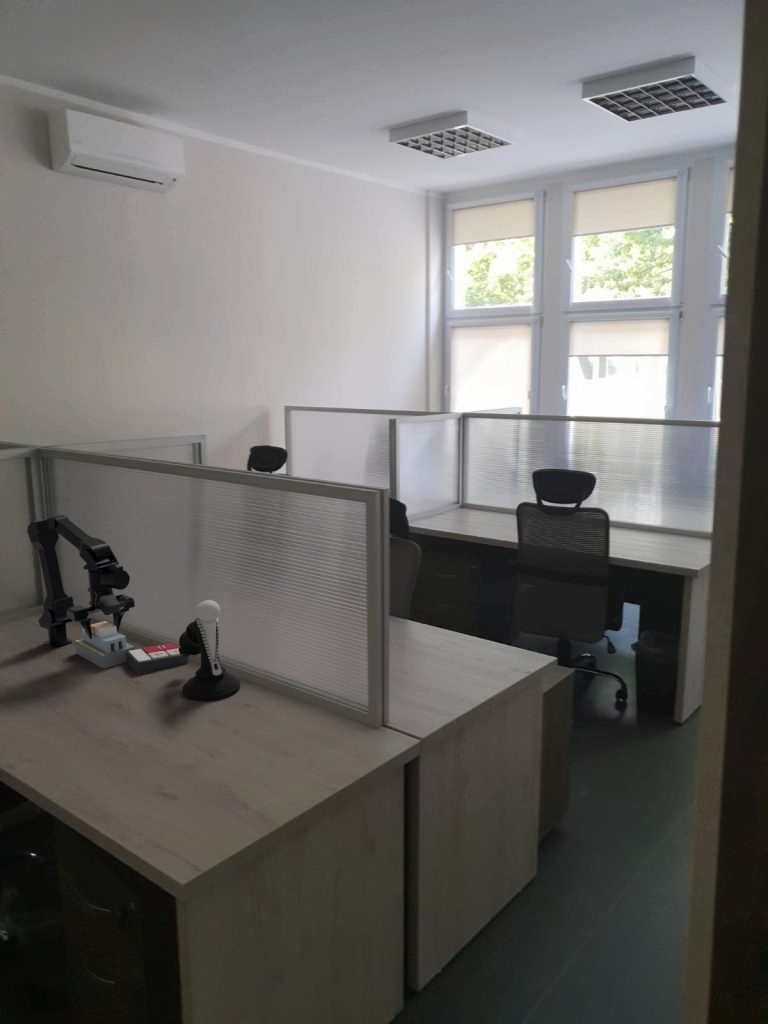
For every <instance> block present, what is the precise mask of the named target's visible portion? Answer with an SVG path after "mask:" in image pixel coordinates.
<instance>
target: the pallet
mask: <svg viewBox="0 0 768 1024" xmlns="http://www.w3.org/2000/svg"><path fill="white" fill-rule="evenodd" d="M81 632H82V633H81V634H82V639H83V640H84V641H86V642H88V643H90V644H91V645H93V646H95V647H97V648H99V649H101V650H103V651H104V652H106V653H109V652H111V649H113V650H114V651H116V650H119V647H121V648H122V649H124V648H127V646H126V643H127V636H126V635H124V634H122V633H120V632H119V631H118V632H117V634H113V635H109V636H105V637H102V638H101V637H99V636H97V635H95V634H93V633H92V639H90V638H89V637H88V635H87V633H86V632H85V630H84V628H82V629H81Z"/></svg>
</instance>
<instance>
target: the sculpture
mask: <svg viewBox="0 0 768 1024" xmlns="http://www.w3.org/2000/svg"><path fill="white" fill-rule="evenodd" d="M195 612H196V616H197V617H196V618H195V620H194V621H192V622H190V623H188V625H187V626H186V628H185V631H183V632H182V633H181V634H180V636H179V639H178V643H179V644H178V646H179V647H180V648H179V653H180V655H184V656H185V657H187V656H188V657H190V656H197V655H200V667H199V668H198V669H197V670H196V671H195V675H193V676H192V677H190V678H189V679H188V680H187V681H186V682H185V683H184V684H183V686H182V688H181V689H182V691H181V692H182V695H183V696H184V697H185V698H186V699H189V700H192V701H196V702H197V701H198V702H212V701H218V700H223V699H226V698H229V697H231V696H233V695H235V694H237V693H238V692H239V691H240V689H241V681H240V680H239V678H237V677H236V676H235V675H233V674H232V673H229V672H226V671H227V669H226V668H225V667H223V666H221V663H220V646H221V645H220V644H221V634H220V633H221V631H220V629H221V627H220V624H219V622H220V621H219V619H220V618H218V617H219V615H221V607H220V606H219V603H217V602H216V601H215V600H212V599H210V600H209V599H206V600H203V601H201V602H199V604H198V605H197V606H196V609H195Z"/></svg>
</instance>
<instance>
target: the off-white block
mask: <svg viewBox="0 0 768 1024" xmlns="http://www.w3.org/2000/svg"><path fill="white" fill-rule="evenodd" d="M113 634H117V627H116V626H115V625H114V623H113V624H112V623H111V624H107V625H104V626H100V627H96V628H95V635H97V636H99V637H101V638H102V637H105V636H109V635H113Z"/></svg>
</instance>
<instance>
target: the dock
mask: <svg viewBox="0 0 768 1024" xmlns="http://www.w3.org/2000/svg"><path fill="white" fill-rule="evenodd" d="M74 642H75V651H76V655H79V656H81V657H82V658H84V659H86V660H87V661H89V662H90V663H92V664H95V665H96V666H98V667H99V668H101V669H103V670H104V669H108V668H111V667H114V666H118V665H121V664H126V663H127V652H129V651H131V650H136V646H135V645H132V644H131V643H128V642H126V646H127V648H124V649H122V648H121V647H119V650H116V651H114V650H113V649H111V652H109V653H106V652H104V651H103V650H101V649H99V648H97V647H95V646H93V645H91V644H90V643H88V642H86V641H84V640H83V638H81V639H76V640H75V641H74Z"/></svg>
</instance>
